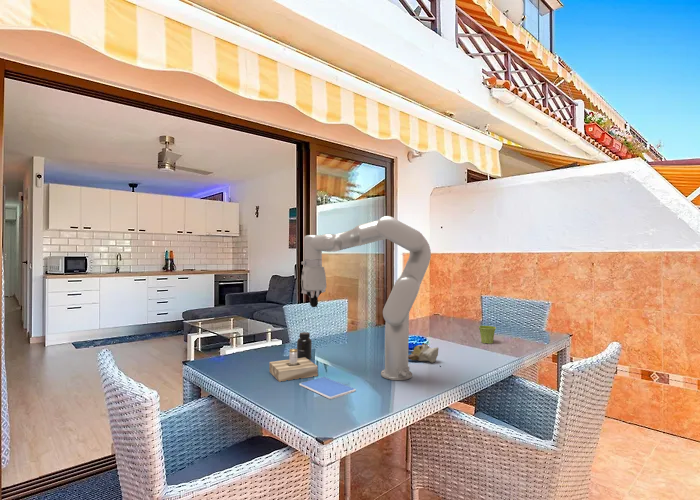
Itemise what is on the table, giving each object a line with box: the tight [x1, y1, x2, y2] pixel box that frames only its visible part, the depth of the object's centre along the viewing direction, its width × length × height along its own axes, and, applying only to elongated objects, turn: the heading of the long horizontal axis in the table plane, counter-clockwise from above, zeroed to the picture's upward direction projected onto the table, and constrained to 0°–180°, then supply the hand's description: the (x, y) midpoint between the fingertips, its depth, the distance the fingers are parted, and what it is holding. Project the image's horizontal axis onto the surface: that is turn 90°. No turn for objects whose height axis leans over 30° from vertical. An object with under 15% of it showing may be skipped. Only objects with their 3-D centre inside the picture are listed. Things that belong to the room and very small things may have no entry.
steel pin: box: [288, 348, 297, 366], centre depth 159 cm, size 3×3×10 cm
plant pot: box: [478, 325, 497, 345], centre depth 216 cm, size 9×9×9 cm
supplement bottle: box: [296, 331, 313, 360], centre depth 182 cm, size 7×7×12 cm
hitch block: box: [269, 358, 319, 383], centre depth 159 cm, size 14×16×4 cm
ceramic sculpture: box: [408, 342, 439, 364], centre depth 179 cm, size 11×9×15 cm
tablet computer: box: [299, 376, 356, 400], centre depth 143 cm, size 19×13×1 cm, turn 42°
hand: (314, 306), depth 165 cm, fingers closed
